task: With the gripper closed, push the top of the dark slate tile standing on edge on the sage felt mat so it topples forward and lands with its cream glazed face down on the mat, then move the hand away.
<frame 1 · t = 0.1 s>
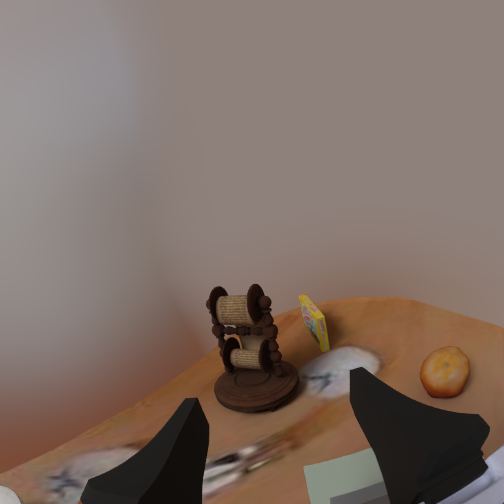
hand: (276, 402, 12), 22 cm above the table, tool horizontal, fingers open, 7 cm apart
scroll: (258, 392, 45), on the table
fruit: (441, 391, 31), on the table
candy box: (315, 337, 62), on the table
felt mat: (372, 486, 20), on the table
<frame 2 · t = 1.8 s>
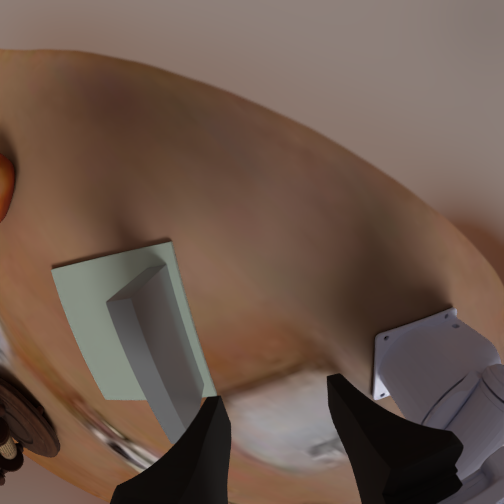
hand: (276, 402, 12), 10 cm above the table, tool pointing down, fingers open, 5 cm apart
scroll: (25, 411, 25), on the table
slate tile: (176, 332, 21), resting on felt mat
fruit: (3, 189, 19), on the table
felt mat: (129, 335, 21), on the table
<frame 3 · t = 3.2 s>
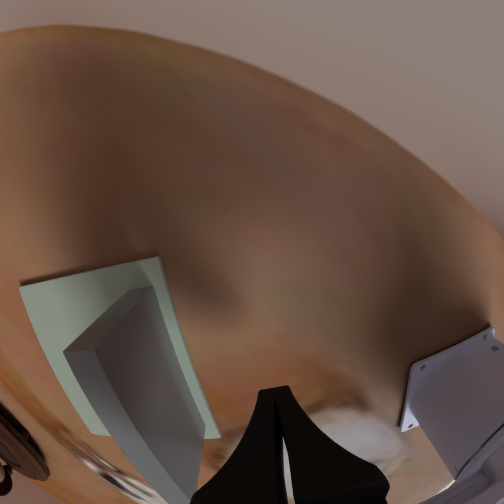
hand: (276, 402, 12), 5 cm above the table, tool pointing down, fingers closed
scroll: (12, 433, 19), on the table
slate tile: (169, 369, 16), resting on felt mat
felt mat: (113, 369, 16), on the table
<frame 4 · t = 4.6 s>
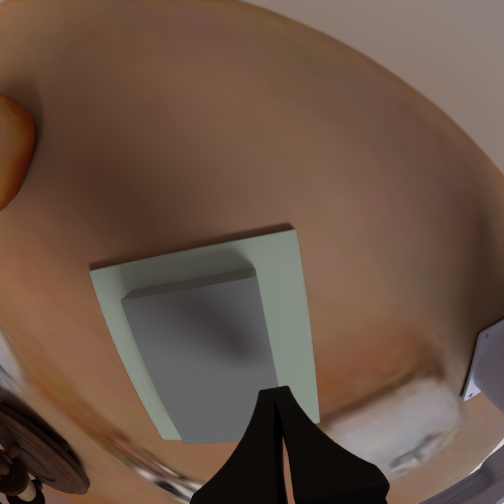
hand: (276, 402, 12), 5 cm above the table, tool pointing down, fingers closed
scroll: (42, 443, 19), on the table
slate tile: (274, 364, 15), point 1 cm above the table, tilted 90°, touching felt mat
fruit: (16, 158, 13), on the table
felt mat: (213, 361, 16), on the table
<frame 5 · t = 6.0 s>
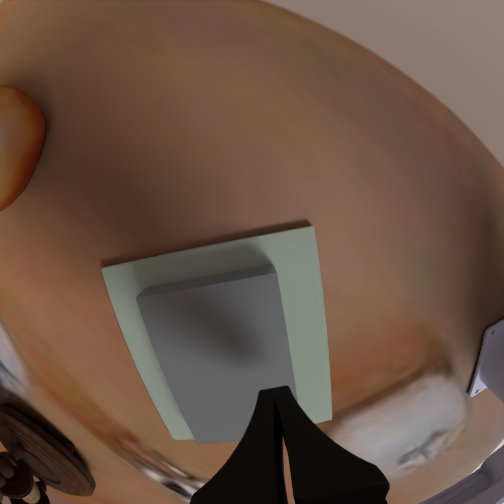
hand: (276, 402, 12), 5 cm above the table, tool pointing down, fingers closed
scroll: (46, 445, 19), on the table
slate tile: (290, 360, 15), point 1 cm above the table, tilted 90°, touching felt mat
fruit: (23, 153, 13), on the table
felt mat: (228, 359, 16), on the table
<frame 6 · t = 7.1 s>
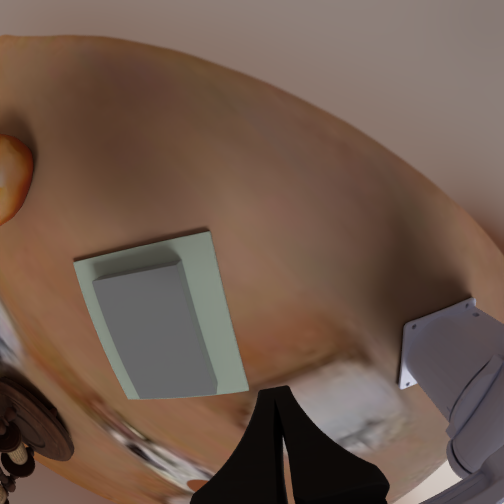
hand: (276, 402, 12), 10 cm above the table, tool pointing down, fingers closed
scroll: (36, 414, 24), on the table
slate tile: (198, 332, 20), point 1 cm above the table, tilted 90°, touching felt mat
fruit: (19, 179, 18), on the table
felt mat: (159, 330, 21), on the table
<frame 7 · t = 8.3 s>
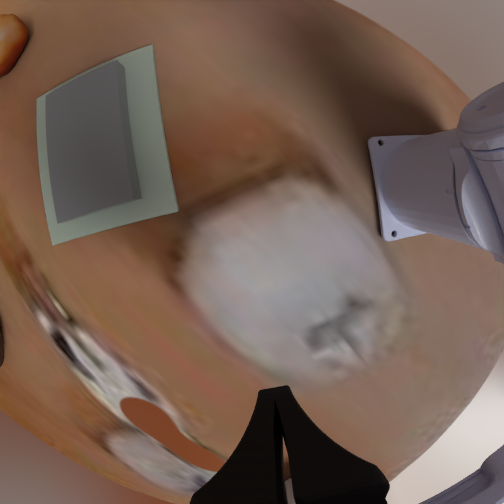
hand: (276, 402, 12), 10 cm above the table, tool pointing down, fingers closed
slate tile: (126, 125, 17), point 1 cm above the table, tilted 90°, touching felt mat
fruit: (13, 57, 15), on the table
felt mat: (93, 143, 18), on the table
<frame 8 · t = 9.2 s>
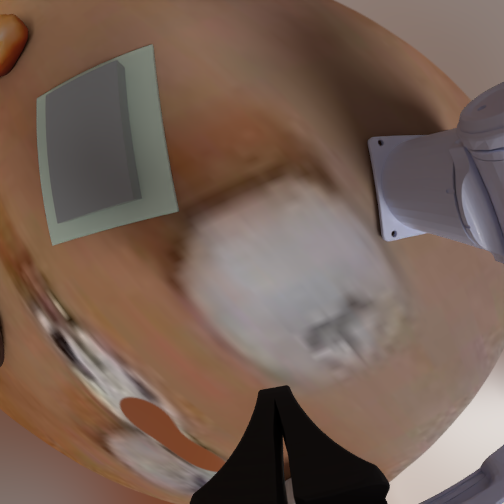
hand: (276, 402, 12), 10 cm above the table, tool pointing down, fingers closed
slate tile: (126, 125, 17), point 1 cm above the table, tilted 90°, touching felt mat
fruit: (13, 57, 15), on the table
felt mat: (93, 143, 18), on the table
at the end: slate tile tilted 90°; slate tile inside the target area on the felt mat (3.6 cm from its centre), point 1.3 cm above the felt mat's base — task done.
